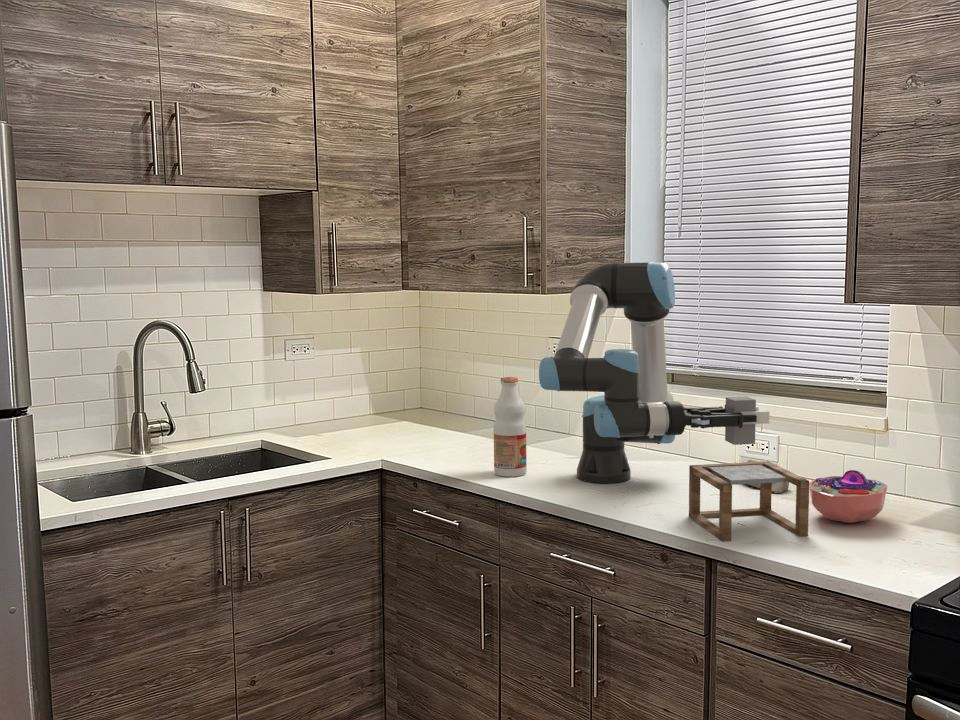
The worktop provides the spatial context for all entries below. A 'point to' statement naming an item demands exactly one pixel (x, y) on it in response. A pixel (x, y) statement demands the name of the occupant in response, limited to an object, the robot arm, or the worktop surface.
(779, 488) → the concrete fragment
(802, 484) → the stand
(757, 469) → the trapdoor flap
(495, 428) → the fruit juice
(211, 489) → the worktop surface
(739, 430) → the basalt block
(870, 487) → the cell model
